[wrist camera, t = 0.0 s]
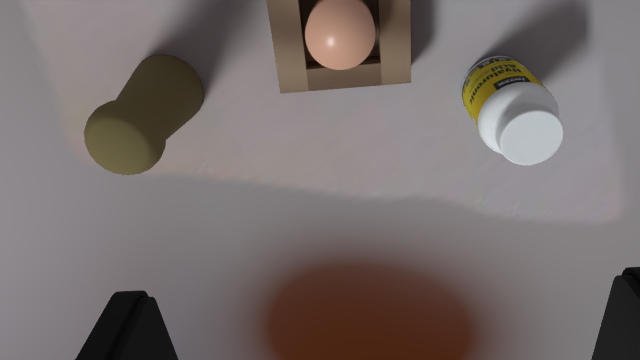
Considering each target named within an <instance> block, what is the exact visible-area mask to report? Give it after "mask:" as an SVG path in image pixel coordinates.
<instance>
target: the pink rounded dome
mask: <svg viewBox="0 0 640 360" xmlns="http://www.w3.org/2000/svg"><path fill="white" fill-rule="evenodd" d="M305 40H306V44H307V48H308V50H309V52H310V53H311V55H312V56H313V58H314V59H315V60H316V61H317V62H319V63H320V64H321V65H323V66H325V67H327V68H330V69H335V70H345V69H350V68H353V67H355V66H357V65H359V64H360V63H361V62H363V61H364V60H365V59H366V58H367V57H368V55H369V54H370V52H371V50H372V48H373V46H374V42H375V26H374V21H373V17H372V13H371V11H370V8H369V7H368V5H367V4H366V2H365V1H364V0H318V1H317V2H316V3H315V4H314V6H313V7H312V9H311V11H310V14H309V18H308V21H307V25H306V30H305Z"/></svg>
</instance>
